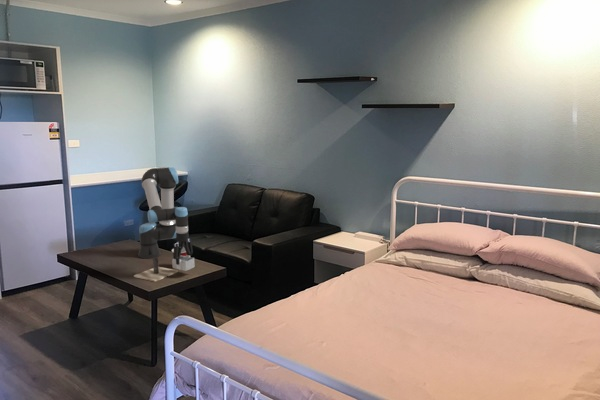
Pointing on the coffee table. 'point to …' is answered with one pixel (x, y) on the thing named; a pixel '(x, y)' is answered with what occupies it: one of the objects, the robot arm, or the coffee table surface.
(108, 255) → the coffee table surface
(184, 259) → the white box
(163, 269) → the keeper board
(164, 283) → the coffee table surface
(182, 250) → the plastic cup
